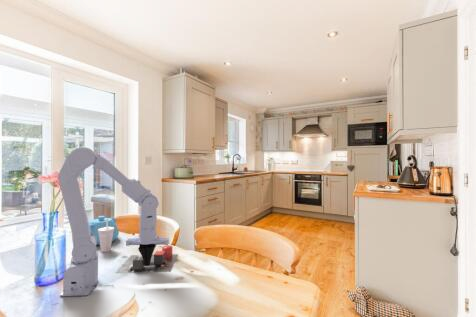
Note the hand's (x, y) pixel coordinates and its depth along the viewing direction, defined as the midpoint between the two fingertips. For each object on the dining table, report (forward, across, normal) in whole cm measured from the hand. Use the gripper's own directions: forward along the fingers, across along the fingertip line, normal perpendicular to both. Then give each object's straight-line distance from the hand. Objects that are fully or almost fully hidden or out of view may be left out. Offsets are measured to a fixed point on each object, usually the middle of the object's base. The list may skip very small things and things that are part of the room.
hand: (147, 264), depth 82 cm
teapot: (+3, +35, -34) cm, 48 cm away
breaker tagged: (+1, -3, -4) cm, 5 cm away
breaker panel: (+3, +1, -5) cm, 6 cm away
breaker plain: (+1, +3, 0) cm, 3 cm away
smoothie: (+3, +25, -22) cm, 33 cm away
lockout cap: (+1, -5, -10) cm, 11 cm away
